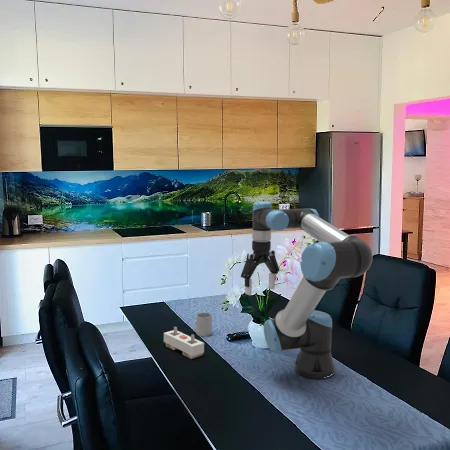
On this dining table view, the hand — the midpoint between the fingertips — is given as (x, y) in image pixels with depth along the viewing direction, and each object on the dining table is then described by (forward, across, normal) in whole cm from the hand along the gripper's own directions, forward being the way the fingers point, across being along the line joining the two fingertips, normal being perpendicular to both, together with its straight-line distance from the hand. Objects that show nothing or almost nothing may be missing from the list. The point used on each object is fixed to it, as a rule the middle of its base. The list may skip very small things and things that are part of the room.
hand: (260, 291), depth 200 cm
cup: (+27, +2, -34) cm, 43 cm away
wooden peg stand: (+27, +22, -23) cm, 41 cm away
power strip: (+25, +22, -23) cm, 41 cm away
